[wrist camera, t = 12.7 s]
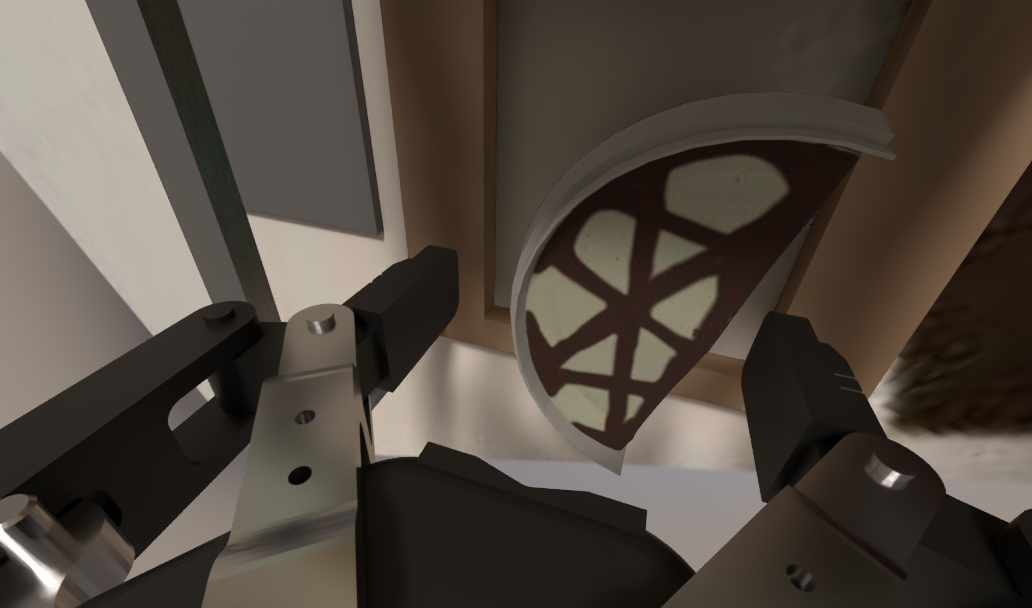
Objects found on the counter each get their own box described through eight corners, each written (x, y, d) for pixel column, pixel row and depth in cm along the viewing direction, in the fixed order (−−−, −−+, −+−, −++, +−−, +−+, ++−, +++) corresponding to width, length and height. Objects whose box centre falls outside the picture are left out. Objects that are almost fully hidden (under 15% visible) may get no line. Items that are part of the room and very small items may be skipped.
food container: (641, 17, 16) (594, -4, 8) (799, 79, 15) (923, 126, 7) (534, 276, 23) (454, 403, 15) (638, 325, 23) (612, 483, 15)
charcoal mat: (338, -90, 17) (327, -94, 17) (383, 230, 25) (377, 234, 24) (98, -82, 21) (84, -85, 20) (202, 196, 28) (194, 199, 28)
